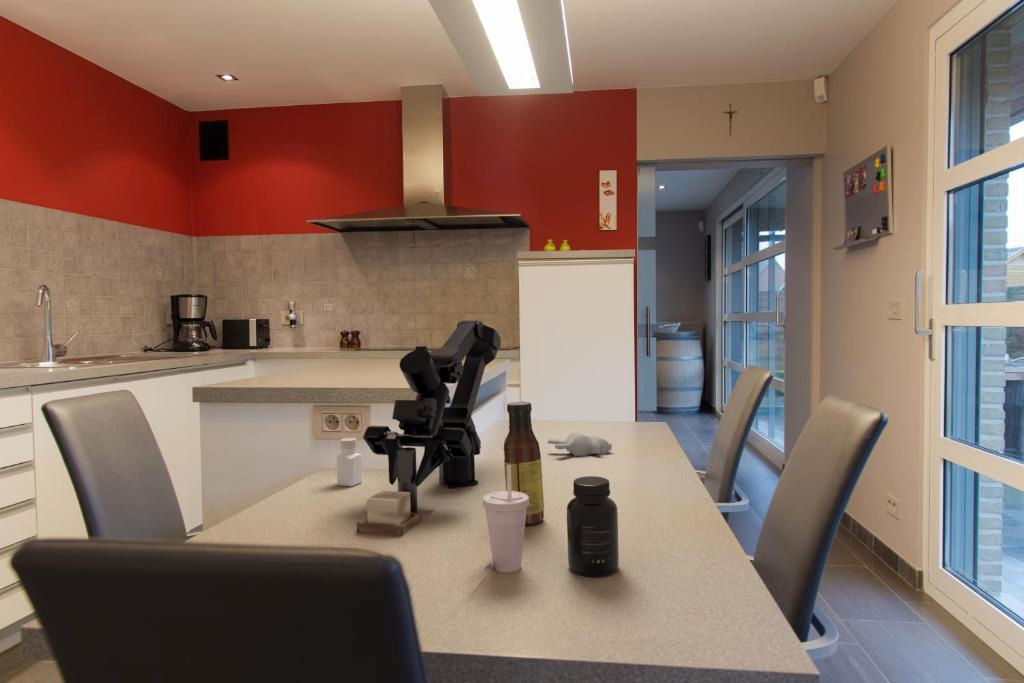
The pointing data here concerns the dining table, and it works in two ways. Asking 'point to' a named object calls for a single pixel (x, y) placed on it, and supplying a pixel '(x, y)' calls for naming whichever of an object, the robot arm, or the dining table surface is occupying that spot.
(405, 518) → the birch block
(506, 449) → the sauce bottle
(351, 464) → the white plastic bottle
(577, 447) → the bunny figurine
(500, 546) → the smoothie
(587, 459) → the dining table surface
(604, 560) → the supplement bottle
